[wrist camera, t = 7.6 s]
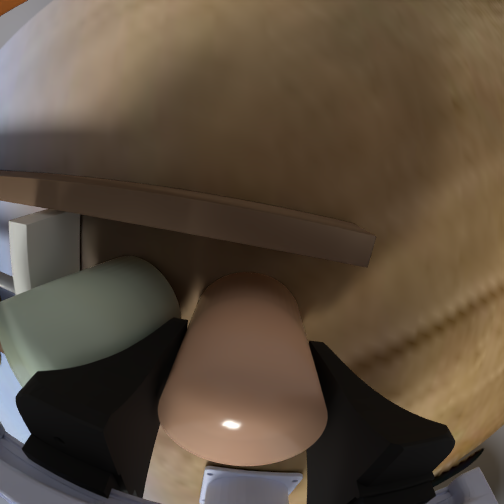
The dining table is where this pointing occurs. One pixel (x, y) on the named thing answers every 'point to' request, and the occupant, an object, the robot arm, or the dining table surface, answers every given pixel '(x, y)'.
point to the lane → (192, 214)
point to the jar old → (84, 316)
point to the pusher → (42, 249)
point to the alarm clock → (9, 5)
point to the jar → (244, 377)
